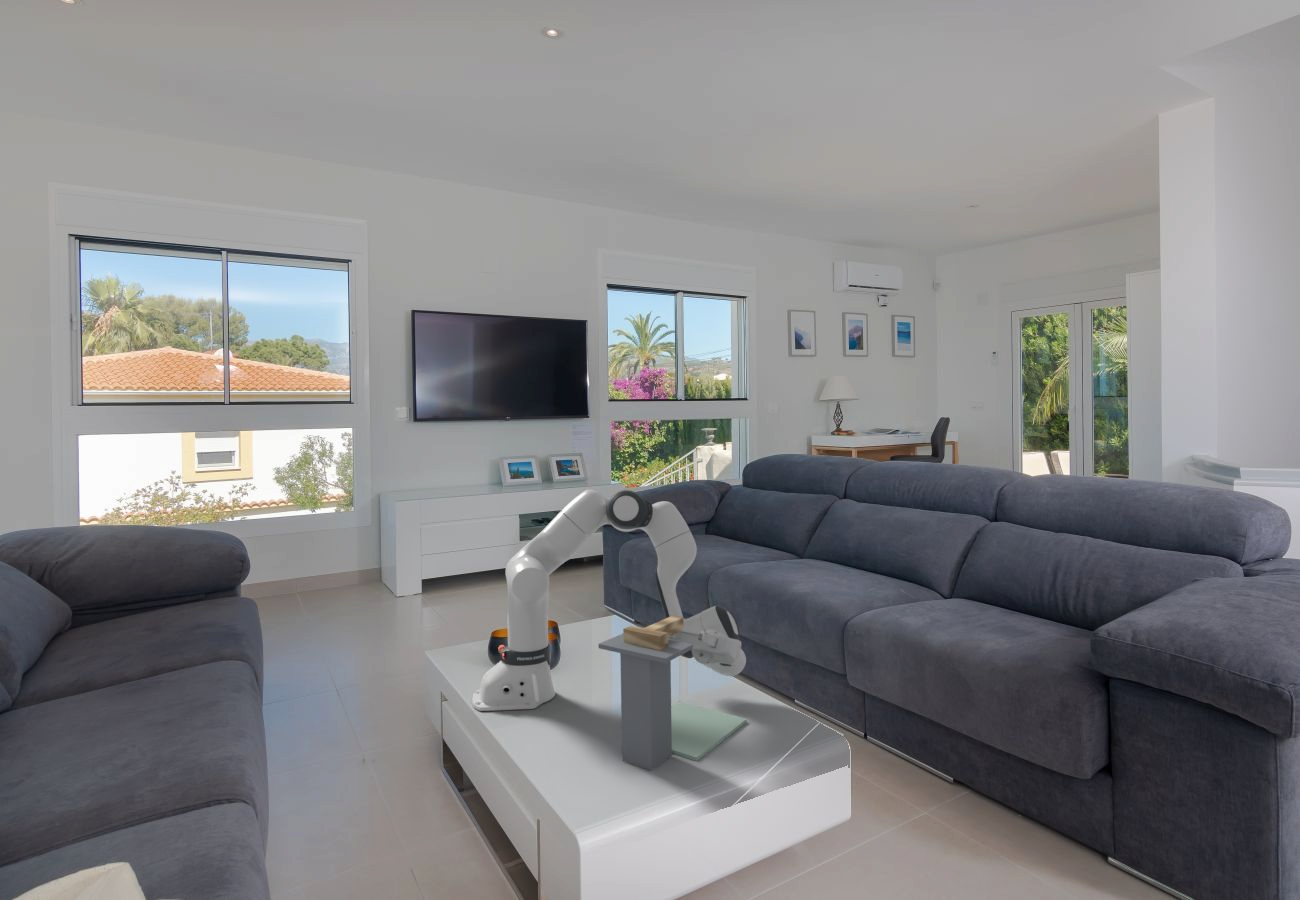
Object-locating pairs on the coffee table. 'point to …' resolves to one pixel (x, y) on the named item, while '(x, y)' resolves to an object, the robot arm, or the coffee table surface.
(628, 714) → the stand
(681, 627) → the t bar
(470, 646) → the coffee table surface
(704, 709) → the mat
